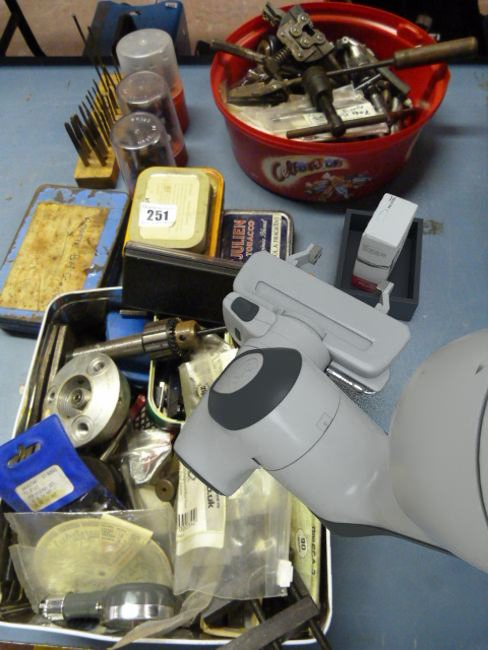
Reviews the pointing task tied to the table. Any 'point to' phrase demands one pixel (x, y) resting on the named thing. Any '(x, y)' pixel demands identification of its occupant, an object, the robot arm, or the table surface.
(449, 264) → the table surface
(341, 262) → the tub
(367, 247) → the ink box
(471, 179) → the table surface
